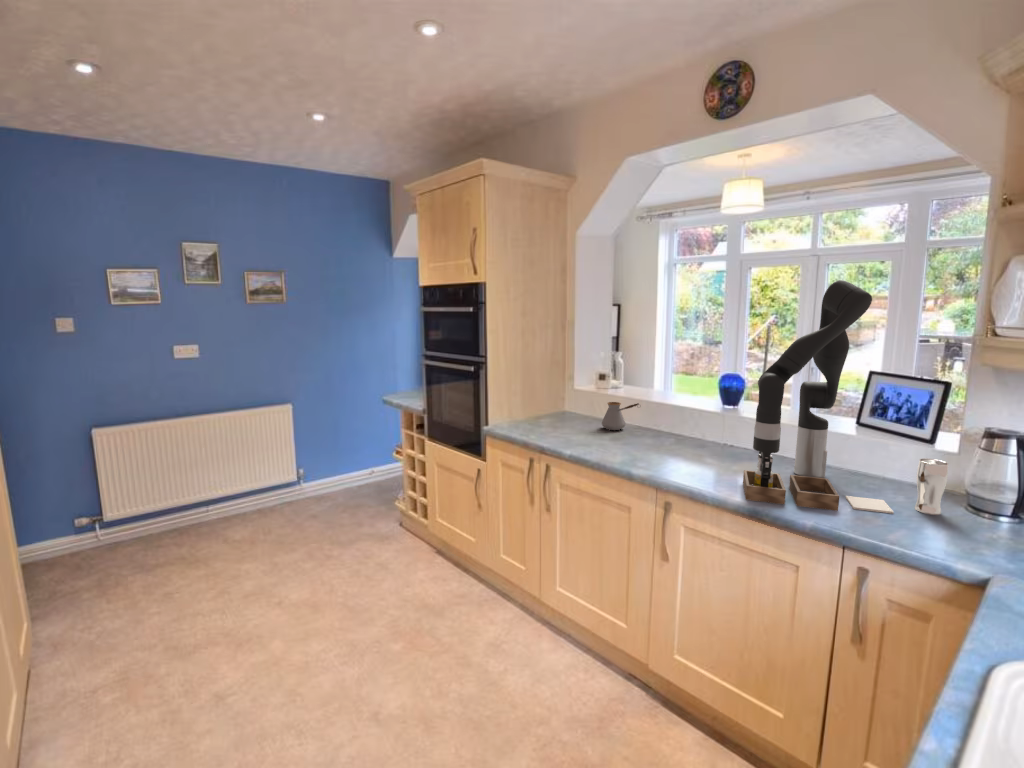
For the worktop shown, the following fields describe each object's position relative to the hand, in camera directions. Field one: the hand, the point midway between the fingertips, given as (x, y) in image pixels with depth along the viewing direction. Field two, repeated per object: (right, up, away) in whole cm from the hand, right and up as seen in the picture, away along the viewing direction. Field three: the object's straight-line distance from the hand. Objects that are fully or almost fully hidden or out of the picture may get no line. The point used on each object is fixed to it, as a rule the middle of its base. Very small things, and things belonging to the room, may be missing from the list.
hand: (763, 487), depth 169 cm
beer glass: (+42, -4, -14) cm, 44 cm away
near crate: (+13, -3, -5) cm, 14 cm away
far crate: (0, -2, 0) cm, 2 cm away
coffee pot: (-28, +10, +83) cm, 89 cm away
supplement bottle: (0, -2, 0) cm, 2 cm away
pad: (+27, -4, -10) cm, 29 cm away
